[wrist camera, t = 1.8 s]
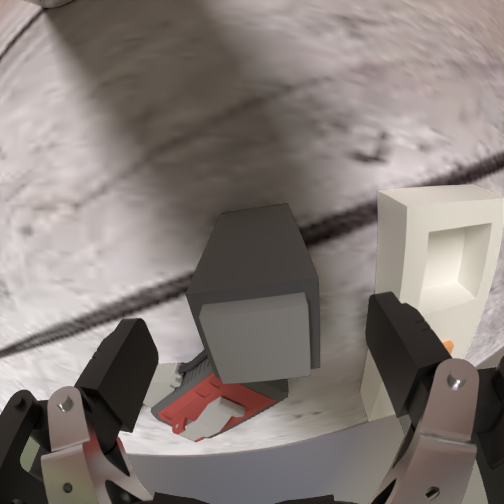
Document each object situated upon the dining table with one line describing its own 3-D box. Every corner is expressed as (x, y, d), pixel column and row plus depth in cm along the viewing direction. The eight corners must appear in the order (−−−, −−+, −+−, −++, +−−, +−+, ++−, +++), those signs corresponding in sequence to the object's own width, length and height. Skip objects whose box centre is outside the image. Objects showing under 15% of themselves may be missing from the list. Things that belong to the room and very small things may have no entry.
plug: (221, 213, 15) (180, 306, 7) (287, 203, 14) (322, 289, 6) (233, 271, 16) (214, 391, 8) (294, 263, 16) (322, 380, 8)
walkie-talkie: (209, 300, 17) (113, 403, 24) (197, 347, 13) (101, 433, 20) (303, 360, 19) (178, 436, 26) (311, 405, 15) (172, 466, 22)
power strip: (377, 190, 14) (509, 276, 4) (472, 184, 13) (585, 241, 4) (359, 392, 21) (385, 486, 12) (431, 370, 20) (470, 448, 11)
